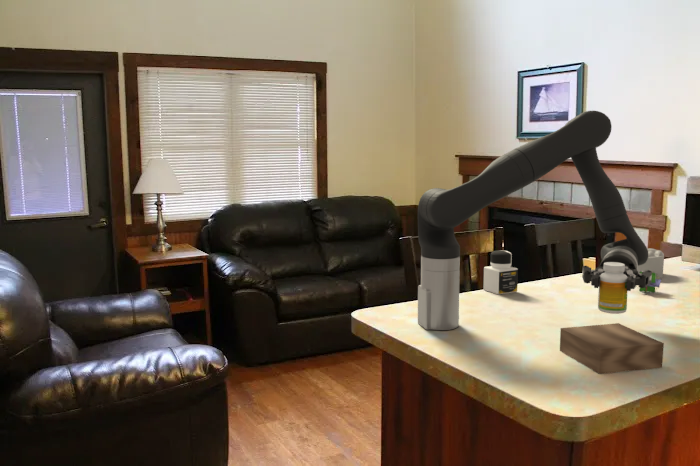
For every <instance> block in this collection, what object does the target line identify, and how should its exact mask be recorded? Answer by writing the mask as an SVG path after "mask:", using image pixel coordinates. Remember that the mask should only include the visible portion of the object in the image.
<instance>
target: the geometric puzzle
mask: <svg viewBox="0 0 700 466" xmlns="http://www.w3.org/2000/svg"><path fill="white" fill-rule="evenodd" d="M639 273H641V274H642V272H639ZM661 282H662V278H660V277H659V276H658V275H657V273H655V272H653V271H652V279H651V283H650V284H649V285H648V286H647V287H646V288H640V287H639V285H637V286H638V287H637V286H636V289H638V291H639V292H642V293H643V294H644V295H646V293H656V291H658V289H660V287H661Z"/></svg>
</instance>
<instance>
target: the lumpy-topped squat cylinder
mask: <svg viewBox="0 0 700 466" xmlns="http://www.w3.org/2000/svg"><path fill="white" fill-rule="evenodd" d="M647 250H648V259H647V261H646V263H644V264H643V265H639V266H638V269H637V270H638V273H639V272H643V271H644V272H645V271H647V270H650V271H653V272H655V273H657V275H658V276H659V277H660V279H662V278H663V277H664V264H665V263H664V262H665V254H664V252H663V251H662V250H660V249H655V248H647Z"/></svg>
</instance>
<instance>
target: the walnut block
mask: <svg viewBox="0 0 700 466" xmlns="http://www.w3.org/2000/svg"><path fill="white" fill-rule="evenodd" d="M559 332H560V336H559V337H560V338H559V351H560V352H561V353H563V354H564V355H566V356H568V357H569V358H571V359H573V360H574V361H577V362H578V363H580V364H581V365H583V366H585V367H587V368H588V369H590V370H591V371H593V372H595V373H597V374H599V375H603V374H604V375H605V374H606V375H607V374H612V373H624V372H633V371H641V370H642V371H643V370H652V369H660V368H661V369H663V359H664V347H665V346H664V345H665V343H664V342H661V341H659V340H657V339H655V338H653V337H650V336H649V335H646V334H644V333H641V332H639V331H637V330H635V329H632V328H630V327H628V326H626V325H624V324H621V323H619V322H618V323H617V322H616V323H607V324H606V323H605V324H594V325H581V326H573V327H572V326H571V327H560V331H559Z"/></svg>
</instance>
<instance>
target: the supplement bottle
mask: <svg viewBox="0 0 700 466" xmlns="http://www.w3.org/2000/svg"><path fill="white" fill-rule="evenodd" d="M603 270H604V271H605V272H604V273H602V274H601V275H600V277H599V287H598V297H597V301H598V302H597V309H598V310H599V312H601V313H606V314H611V315H613V314H615V315H616V314H619V315H620V314H624V313H626V312H627V309H628V291H627V279H628V277H627V276H626V275H625V274H623V272H624V271H625V264H623V263H618V262H605V263H604V266H603Z"/></svg>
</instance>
